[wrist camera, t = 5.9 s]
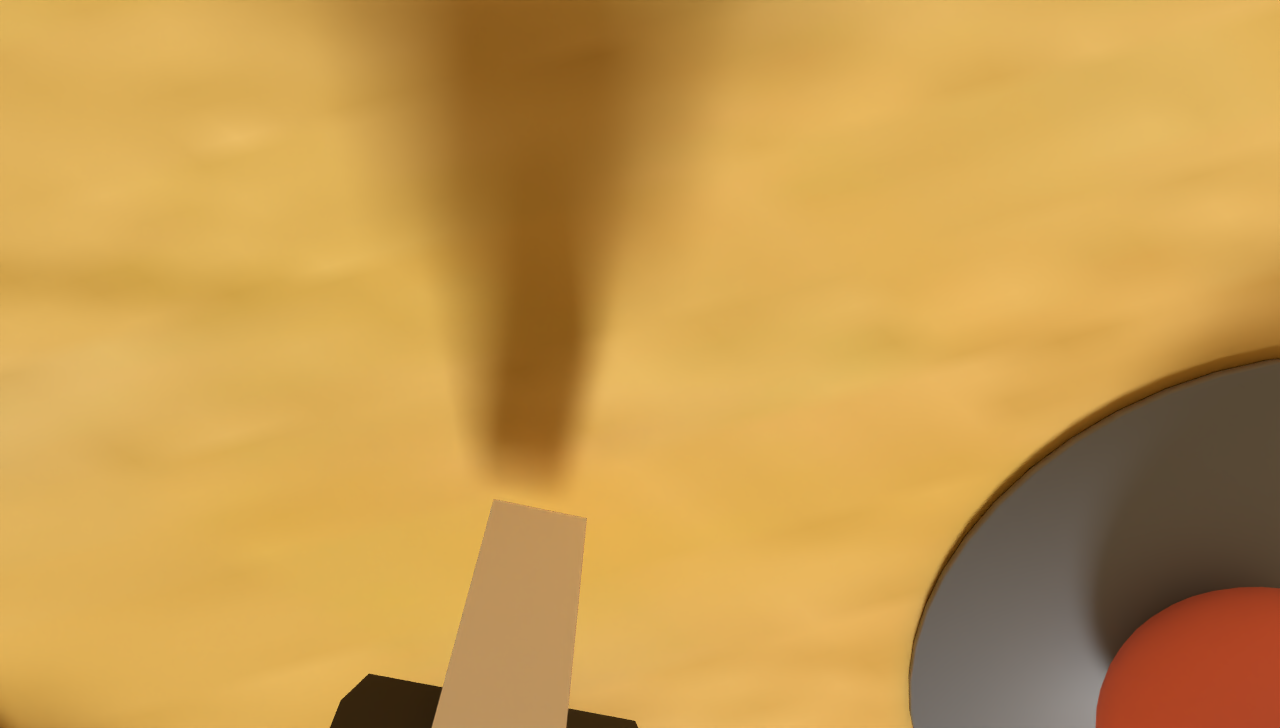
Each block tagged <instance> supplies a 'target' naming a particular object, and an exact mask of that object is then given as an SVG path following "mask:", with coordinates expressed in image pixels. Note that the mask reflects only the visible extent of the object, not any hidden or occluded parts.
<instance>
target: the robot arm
mask: <svg viewBox="0 0 1280 728" xmlns="http://www.w3.org/2000/svg"><path fill="white" fill-rule="evenodd" d="M586 521H587V518H583V517H578V516H573V515H568V514H563V513H558V512H554V511H549V510H544V509H539V508H534V507H529V506H525V505H520V504H515V503H510V502H505V501H500V500H496V499H494V500H493V504H492V507H491V511H490V515H489V518H488V522H487V526H486V529H485V533H484V537H483V540H482V544H481V548H480V552H479V555H478V559H477V563H476V566H475V570H474V574H473V577H472V581H471V585H470V588H469V592H468V596H467V599H466V603H465V607H464V610H463V614H462V618H461V622H460V625H459V629H458V633H457V636H456V640H455V644H454V647H453V651H452V655H451V658H450V662H449V666H448V669H447V673H446V677H445V681H444V684H443V687H437V686H432V685H427V684H421V683H416V682H410V681H405V680H400V679H394V678H389V677H384V676H378V675H373V674H368V675H367V676H366V677H365V678H364V679H363V680H362V681H361V682H360V683H359V684H358V685H357V686H356V687H354V688H353V689H352V690H351V691H350V692H349V693H348V694H347V695H346V696H345V697H344V698H343V699H342V700H341V701H340V704H339V706H338V709H337V711H336V714H335V716H334V719H333V721H332V724H331V726H330V728H638V726H637V724H636V722H635V721H632V720H627V719H622V718H616V717H611V716H606V715H600V714H595V713H590V712H584V711H579V710H574V709H568V705H569V694H570V684H571V674H572V664H573V654H574V643H575V633H576V623H577V613H578V603H579V592H580V582H581V572H582V562H583V552H584V541H585V531H586Z"/></svg>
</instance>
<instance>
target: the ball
mask: <svg viewBox="0 0 1280 728" xmlns="http://www.w3.org/2000/svg"><path fill="white" fill-rule="evenodd" d="M1096 728H1280V588H1269V587H1238V588H1231V589H1223V590H1216V591H1211V592H1207V593H1203V594H1199V595H1196V596H1192V597H1189V598H1187V599H1184V600H1182V601H1180V602H1177V603H1175V604H1173V605H1171V606H1169V607H1168V608H1166V609H1164V610H1162V611H1161V612H1159V613H1157V614H1156V615H1154V616H1153V617H1151V618H1150V619H1148V620H1147V621H1146V622H1145V623H1144V624H1142V625H1141V626H1140V627H1139V628H1137V629H1136V630H1135V631H1134V633H1133V634H1132V635H1131V636H1130V637H1129V638H1128V639H1127V641H1126V642H1125V643H1124V644H1123V645H1122V647H1121V648H1120V649H1119V651H1118V652H1117V654H1116V656H1115V657H1114V659H1113V661H1112V662H1111V664H1110V666H1109V668H1108V671H1107V673H1106V676H1105V678H1104V681H1103V684H1102V686H1101V689H1100V693H1099V698H1098V703H1097V708H1096Z"/></svg>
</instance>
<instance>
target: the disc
mask: <svg viewBox="0 0 1280 728" xmlns="http://www.w3.org/2000/svg"><path fill="white" fill-rule="evenodd" d="M1238 587H1269V588H1280V359H1272V360H1266V361H1261V362H1257V363H1253V364H1248V365H1244V366H1239V367H1235V368H1231V369H1226V370H1222V371H1218V372H1214V373H1211V374H1208V375H1205V376H1202V377H1199V378H1196V379H1194V380H1191V381H1188V382H1185V383H1182V384H1179V385H1176V386H1173V387H1170V388H1167V389H1164V390H1162V391H1160V392H1158V393H1156V394H1153V395H1151V396H1149V397H1147V398H1145V399H1143V400H1140V401H1138V402H1136V403H1134V404H1132V405H1130V406H1127V407H1125V408H1123V409H1121V410H1119V411H1117V412H1115V413H1113V414H1111V415H1110V416H1108V417H1106V418H1105V419H1103V420H1101V421H1100V422H1098V423H1096V424H1094V425H1093V426H1091V427H1089V428H1088V429H1086V430H1084V431H1083V432H1081V433H1079V434H1078V435H1076V436H1074V437H1072V438H1071V439H1069V440H1068V441H1067V442H1065V443H1064V444H1063V445H1061V446H1060V447H1059V448H1057V449H1056V450H1055V451H1053V452H1052V453H1051V454H1049V455H1048V456H1047V457H1045V458H1044V459H1043V460H1041V461H1040V462H1039V463H1037V464H1036V465H1034V466H1033V467H1032V468H1030V469H1029V470H1028V471H1027V472H1026V473H1025V474H1024V475H1023V476H1022V477H1021V478H1020V479H1019V480H1017V481H1016V482H1015V483H1014V484H1013V485H1012V486H1011V487H1010V488H1009V489H1008V490H1007V491H1006V492H1005V493H1003V494H1002V495H1001V496H1000V497H999V498H998V499H997V500H996V501H995V502H994V503H993V504H992V506H991V507H990V508H989V509H988V510H987V511H986V513H985V514H984V515H983V516H982V517H981V518H980V520H979V521H978V522H977V523H976V524H975V525H974V527H973V528H972V529H971V530H970V531H969V532H968V534H967V535H966V536H965V537H964V539H963V540H962V542H961V544H960V545H959V547H958V548H957V550H956V551H955V553H954V554H953V556H952V557H951V559H950V560H949V562H948V563H947V565H946V566H945V568H944V569H943V571H942V573H941V575H940V577H939V579H938V581H937V583H936V585H935V587H934V589H933V591H932V593H931V595H930V597H929V600H928V602H927V604H926V606H925V608H924V611H923V615H922V618H921V621H920V624H919V627H918V631H917V634H916V637H915V640H914V644H913V651H912V658H911V665H910V671H909V710H910V715H911V720H912V725H913V728H1096V708H1097V703H1098V698H1099V693H1100V689H1101V686H1102V684H1103V681H1104V678H1105V676H1106V673H1107V671H1108V668H1109V666H1110V664H1111V662H1112V661H1113V659H1114V657H1115V656H1116V654H1117V652H1118V651H1119V649H1120V648H1121V647H1122V645H1123V644H1124V643H1125V642H1126V641H1127V639H1128V638H1129V637H1130V636H1131V635H1132V634H1133V633H1134V631H1135V630H1136V629H1137V628H1139V627H1140V626H1141V625H1142V624H1144V623H1145V622H1146V621H1147V620H1148V619H1150V618H1151V617H1153V616H1154V615H1156V614H1157V613H1159V612H1161V611H1162V610H1164V609H1166V608H1168V607H1169V606H1171V605H1173V604H1175V603H1177V602H1180V601H1182V600H1184V599H1187V598H1189V597H1192V596H1196V595H1199V594H1203V593H1207V592H1211V591H1216V590H1223V589H1231V588H1238Z"/></svg>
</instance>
